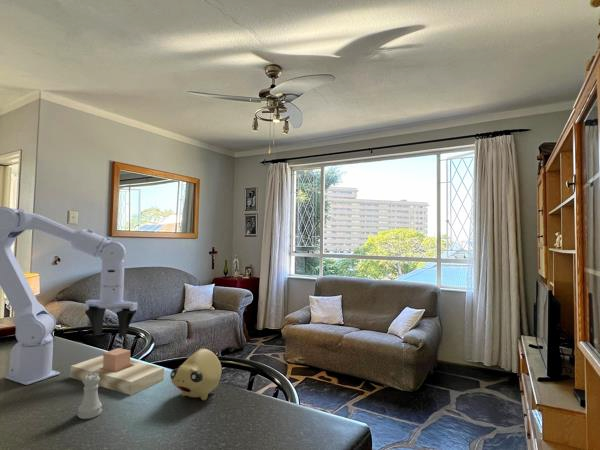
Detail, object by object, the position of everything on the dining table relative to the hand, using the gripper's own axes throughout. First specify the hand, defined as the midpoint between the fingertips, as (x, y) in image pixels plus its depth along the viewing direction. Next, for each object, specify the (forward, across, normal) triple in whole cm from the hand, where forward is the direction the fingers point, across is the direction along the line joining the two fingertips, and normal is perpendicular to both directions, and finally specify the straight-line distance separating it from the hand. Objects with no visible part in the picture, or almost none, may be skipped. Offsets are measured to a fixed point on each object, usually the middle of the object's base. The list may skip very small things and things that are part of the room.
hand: (110, 335), depth 97 cm
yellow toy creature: (+10, +30, -10) cm, 33 cm away
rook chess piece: (+10, +13, -22) cm, 27 cm away
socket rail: (+9, +6, -5) cm, 12 cm away
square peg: (+10, +6, -5) cm, 12 cm away
